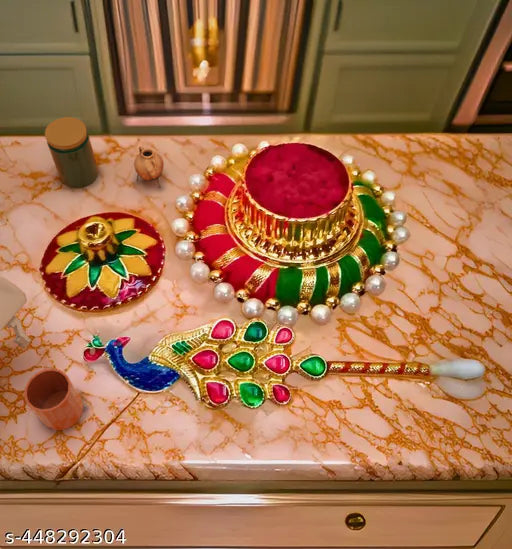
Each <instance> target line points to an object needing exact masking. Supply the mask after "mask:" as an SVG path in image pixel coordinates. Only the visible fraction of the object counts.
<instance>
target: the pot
mask: <svg viewBox="0 0 512 549" xmlns="http://www.w3.org/2000/svg"><path fill="white" fill-rule="evenodd" d="M138 151H139V154H137V155H136V157H135V159H134V161H133V167H134V170H135V173H137V176H136V182H139V178H140V179H142V180H143V181H144V183H145V182H154V181H157V184H158V187H159V188H161V184H160V181H159V178H161V176H162V174H163V170H164V167H165V165H164V159H163V157H162V156H161V155H160V154H159V153H158V152H156V151H154V150H153V149H152V148H149V147H147V148H144V147H143V146H139V147H138Z"/></svg>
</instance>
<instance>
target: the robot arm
mask: <svg viewBox="0 0 512 549" xmlns="http://www.w3.org/2000/svg"><path fill="white" fill-rule="evenodd" d="M27 302H28V300H27V295H26V292H24V291H23V289H21V288H20V287H19V286H17V285H16V284H14V283H13V282H12V281H10V280H9V279H8V278H6V277H4V276H2V275H0V333H1V332H2V331H3V330H4V328H5V327H8V328H12V329H13V331H14V334H15V338H14V339H13V343H15V344H16V345H18V346H19V348H22V349H26V348H27V347H28V346H29V344H30V343H31V342H32V339H31V338H30V337H29V336H27V335H26V334H25V331H24V329H23V325H22V322H21V320H20V319H19V318H18V317H16V315H17V314H18V313H19V312H20V310H22V308H23V307H24V306H25V305H26V304H27Z"/></svg>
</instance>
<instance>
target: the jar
mask: <svg viewBox="0 0 512 549" xmlns="http://www.w3.org/2000/svg"><path fill="white" fill-rule="evenodd" d="M44 137H45V139H46V143H47V147H48V149H49V152H50V155H51V158H52V161H53V163H54V166H55V169H56V171H57V174H58V177H59V179H60V181H61V183H62V184H63V185H64V186H66V187H68V188H72V189H81V188H86V187H88V186H90V185H92V184H93V183H95V181H96V180H97V178H98V176H99V173H100V172H99V167H98V163H97V160H96V156H95V153H94V150H93V145H92V142H91V139H90V135H89V132H88V130H87V126H86V125H85V123H84V122H83V121H82V120H80V119H78V118H77V117H72V116H70V117H69V116H64V117H60V118H57V119H55V120H53V121H52V122H50V123H49V124H48V125H47V126H46V128H45V130H44Z"/></svg>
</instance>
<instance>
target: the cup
mask: <svg viewBox="0 0 512 549" xmlns="http://www.w3.org/2000/svg"><path fill="white" fill-rule="evenodd" d="M23 393H24V394H23V396H24V399H25V402H26V405H27V406H28V407H29V408H30V409H31V410H32V412H33V413H34V414H35V415H36V417H38V419H39V420H40V421H41V422H42V424H44V425H45V426H46V427H47V428H49V429H51V430H53V431H63V430H68V429H70V428H71V427H73V426H75V425H76V424H77V423H78V422H79V420H80V419H81V418H82V415H83V412H84V402H83V399H82V397H81V395H80V394H79V392H78V391H77V389H76V387H75V386H74V384H73V382H72V380H71V379H70V377H69V375H68V374H66V373H65V372H64V371H63V370H61V369H57V368H45V369H42V370H40V371H38V372H36V373H35V374H34V375H32V376H31V377H30V378H29V380H28V381H27V382H26V385H25V387H24V392H23Z"/></svg>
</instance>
